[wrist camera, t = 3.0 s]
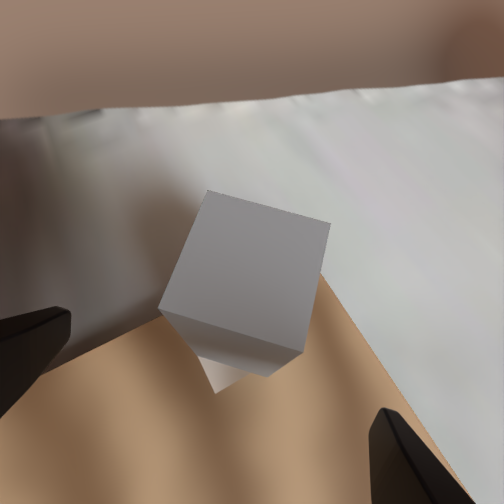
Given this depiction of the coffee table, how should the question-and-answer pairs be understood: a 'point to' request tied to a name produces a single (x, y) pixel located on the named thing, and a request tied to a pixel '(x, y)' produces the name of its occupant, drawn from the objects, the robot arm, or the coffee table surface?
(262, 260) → the slate post
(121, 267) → the coffee table surface
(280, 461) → the label board
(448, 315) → the coffee table surface
